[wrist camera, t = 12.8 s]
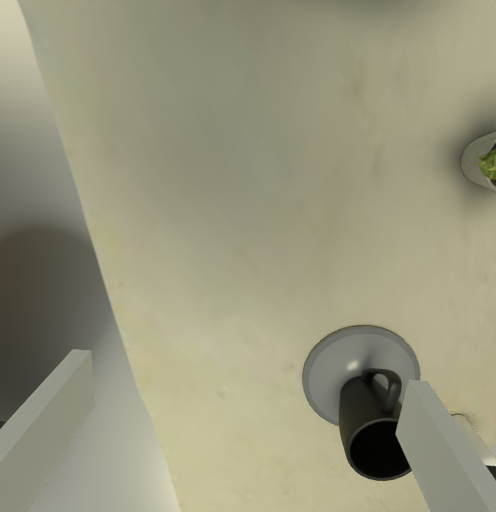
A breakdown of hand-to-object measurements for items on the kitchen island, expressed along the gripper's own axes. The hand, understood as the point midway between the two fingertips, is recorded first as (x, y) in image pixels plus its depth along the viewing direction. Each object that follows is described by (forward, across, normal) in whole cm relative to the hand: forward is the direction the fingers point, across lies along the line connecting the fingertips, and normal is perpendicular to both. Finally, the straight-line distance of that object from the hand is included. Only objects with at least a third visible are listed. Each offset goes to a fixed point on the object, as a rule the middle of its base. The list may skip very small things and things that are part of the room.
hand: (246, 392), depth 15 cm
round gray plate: (+29, +15, -18) cm, 38 cm away
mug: (+29, +16, -18) cm, 37 cm away
